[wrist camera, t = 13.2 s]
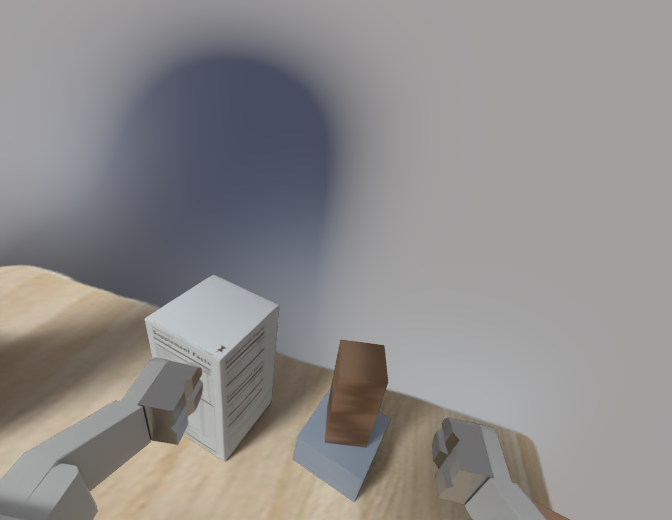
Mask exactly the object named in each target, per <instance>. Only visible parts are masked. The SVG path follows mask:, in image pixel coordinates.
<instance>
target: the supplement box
mask: <svg viewBox="0 0 672 520" xmlns="http://www.w3.org/2000/svg"><path fill="white" fill-rule="evenodd" d="M278 316H279V305H278V304H276V303H274V302H272V301H269V300H267V299H265V298H263V297H261V296H259V295H256V294H254V293H252V292H250V291H248V290H246V289H243V288H241V287H239V286H237V285H235V284H233V283H230V282H228V281H226V280H224V279H222V278H220V277H218V276H216V275H212V276H210V277H209V278H207V279H205V280H204V281H202V282H201V283H199V284H198V285H196V286H194V287H193V288H191V289H190V290H189V291H187V292H185V293H184V294H182V295H181V296H179V297H177V298H176V299H174V300H173V301H171V302H169V303H168V304H166V305H165V306H163V307H161V308H160V309H158V310H157V311H155V312H154V313H152V314H151V315H149V316H148V317H146V318H145V324H146V329H147V334H148V339H149V344H150V349H151V354H152V358H154V357H156V358H161V359H166V360H171V361H175V362H179V363H184V364H188V365H193V366H197V367H202V375H201V377H200V380H201V381H202V382H203V391H202V396H201V399H200V402H199V404H198V406H197V408H196V410H195V412H194V413H192V414H191V415H189V416H188V426H187V428H186V430H185V432H184V434H183V435H185V436H186V437H188V438H189V439H191V440H192V441H194V442H195V443H197V444H198V445H200V446H201V447H203V448H204V449H206V450H207V451H209V452H210V453H212V454H213V455H215V456H216V457H218V458H219V459H221V460H223V461H226V460H227V459H228V457H229V456H230V455H231V454H232V452H233V451H234V450H235V448H236V447H237V446H238V445H239V443H240V442H241V441H242V439H243V438H244V437H245V435H246V434H247V433H248V432H249V430H250V429H251V428H252V426H253V425H254V424H255V423H256V421H257V420H258V419H259V417H260V416H261V415H262V413H263V412H264V411H265V410H266V408H267V407H268V406H269V404H270V403H271V402H272V390H273V377H274V365H275V352H276V340H277V328H278Z"/></svg>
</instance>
